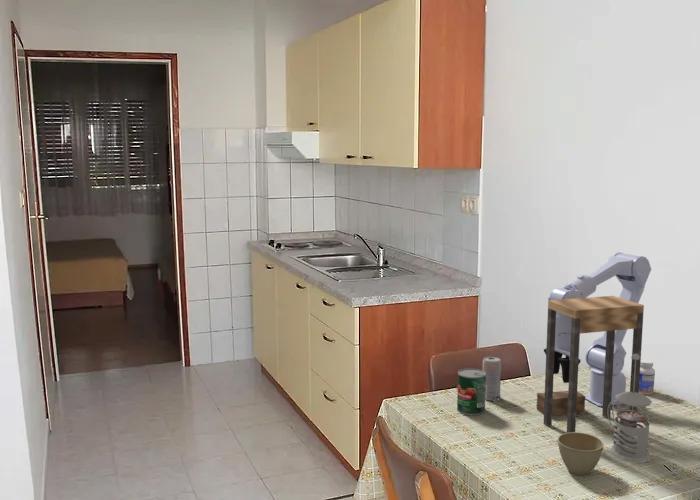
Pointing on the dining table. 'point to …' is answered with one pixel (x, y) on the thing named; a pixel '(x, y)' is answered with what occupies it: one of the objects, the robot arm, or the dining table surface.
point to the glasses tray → (561, 403)
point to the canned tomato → (471, 391)
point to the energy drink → (492, 377)
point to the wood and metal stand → (588, 319)
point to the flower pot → (580, 451)
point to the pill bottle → (646, 377)
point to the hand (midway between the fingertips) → (560, 377)
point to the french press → (628, 446)
